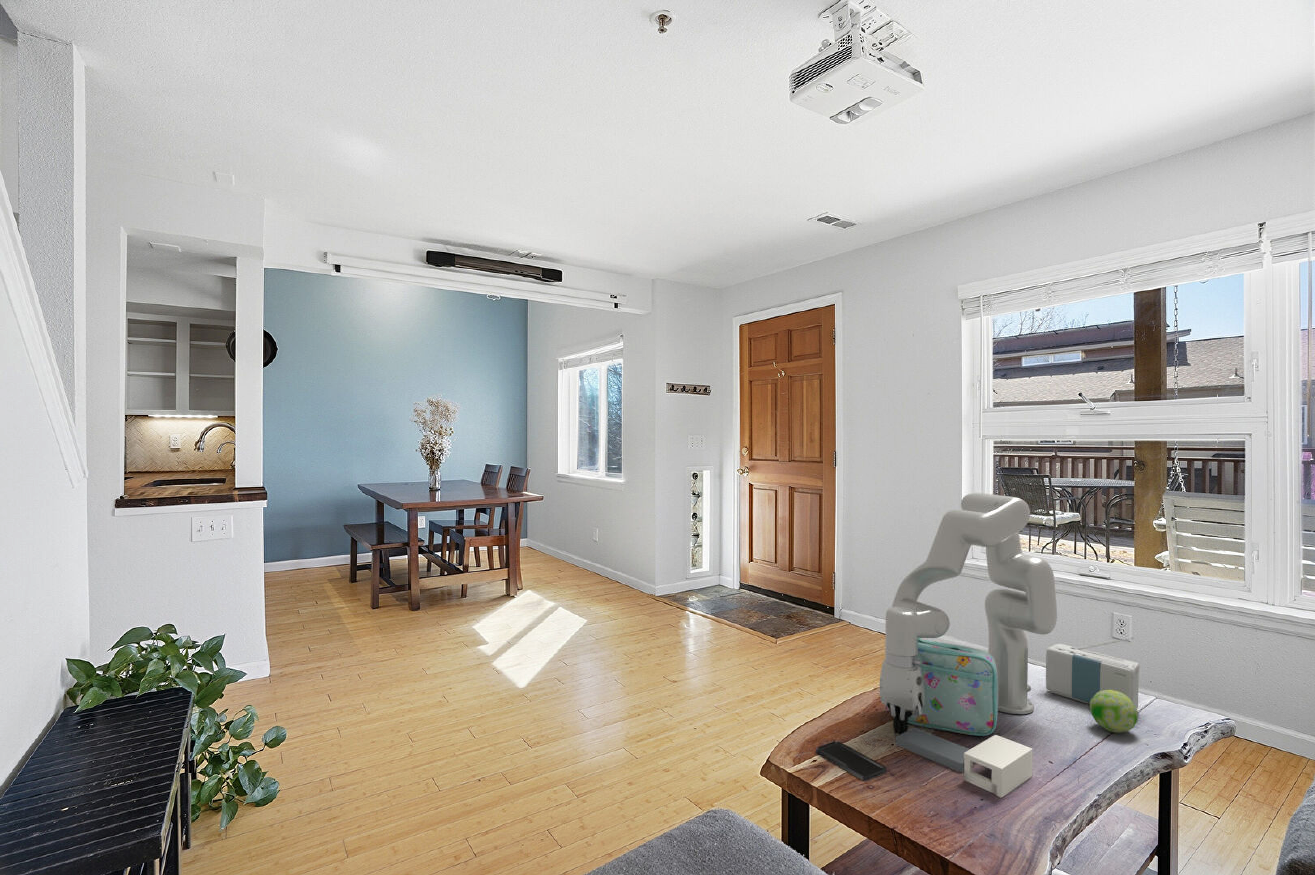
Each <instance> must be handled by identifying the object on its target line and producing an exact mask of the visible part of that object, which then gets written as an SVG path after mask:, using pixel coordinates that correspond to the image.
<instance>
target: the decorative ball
mask: <svg viewBox="0 0 1315 875" xmlns="http://www.w3.org/2000/svg"><path fill="white" fill-rule="evenodd" d="M1089 709H1090V714H1091V716H1092V718H1093V719H1094V722H1096V724H1097V725H1099V726H1100V727H1102V728H1103V729H1105V730H1106V731H1109V732H1112V733H1117V734H1119V733H1126V732H1129V731H1131V730H1133V729H1134V727H1136V724H1137V721H1138V717H1139V716H1138V715H1139V711H1138V708H1136V707H1135V705H1134V703H1133V702H1132V700H1130V698H1129V697H1127V696H1126V695H1125V694H1123V693H1121V692H1118V691H1114V690H1102V691H1100V692H1098V693H1096V694H1095V696H1094V697H1093V698H1092V699H1091V701H1090V704H1089Z"/></svg>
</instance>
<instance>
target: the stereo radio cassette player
mask: <svg viewBox="0 0 1315 875" xmlns="http://www.w3.org/2000/svg"><path fill="white" fill-rule="evenodd" d="M1134 638H1135V637H1134V636H1133V637H1132V636H1131V637H1130V638H1125V639H1124V638H1123V639H1119V640H1113V641H1106V642H1102V643H1097V644H1091V645H1087V646H1081V647H1075V646H1071V645H1068V644H1064V643H1057V644H1053V645H1052V646H1049V647H1047V648H1046V652H1045V653H1046V655H1045V688H1046V690H1047V691H1049V693H1051V694H1053V695H1054V694H1055V695H1058V696H1062V697H1064V698H1065V697H1066V698H1069V699H1072V700H1074V701H1078V702H1081V703H1084V704H1087V705H1090V701H1091V699H1092V698H1093V697H1094V696H1095V694H1096V693H1098V692H1100V691H1102V690H1114V691H1118V692H1121V693H1123V694H1125V695H1126V696H1127V697H1129V698H1130V700H1132V702H1133V703H1134V705H1135V707H1136V708H1137V709H1138V708H1139V679H1140V678H1139V673H1140V672H1139V671H1140V663H1139V662H1136V661H1131V660H1128V659H1124V658H1119V657H1116V656H1111V655H1108V654H1104V653H1100V652H1096V651H1091V650H1088V649H1089V648H1094V647H1099V646H1105V645H1109V644H1114V643H1118V642H1123V641H1127V640H1134Z"/></svg>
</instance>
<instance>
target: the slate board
mask: <svg viewBox="0 0 1315 875" xmlns="http://www.w3.org/2000/svg"><path fill="white" fill-rule="evenodd" d="M895 745H896V746H898V747H899V748H903V749H905V750H907V751H910V752H912V753H914V754H917V755H919V756H921V757H924V758H926V759H928V760H930V761H933V762H935V763H938V764H940V765H942V766H944V767H947V768H949V769H951V770H954V771H956V772H958V773H961V774H964V761H965V758H964V753H965V752H967V751H968V750H970V749H971V748H969V747H966V746H963V745H960V744H957V743H955V742H952V741H950V740H947V739H945V738H942V737H940V736H937V735H935V734H932V733H929V732H926V731H924V730H922V729H919V728H916V727H912V728H910V729H908V731H906V732H904V733H902V734H901V735H897V736H895ZM976 764H977V763H975V762H973V766H975V765H976Z"/></svg>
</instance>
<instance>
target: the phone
mask: <svg viewBox="0 0 1315 875" xmlns="http://www.w3.org/2000/svg"><path fill="white" fill-rule="evenodd" d="M815 753H816V754H818V755H819V756H820V757H822V758H823V759H825V760H827V761H829V762H830V763H832V764H834V765H835V766H838V767H839V768H840V769H842V770H844V771H846V772H847V773H849V774H850V775H853V776H854V777H856V778H858V779H859V780H861V781H864V782H866V781H870V780H873V779H876V778H879V776H883V775H885V774H887V772H888V771H887V767H886V766H884V765H883V764H881V763H880V762H877V761H876V760H874V759H873V758H870V757H869V756H866V755H865V754H863V753H861V752H859V751H858V750H856V749H854V748H852V747H851V746H848V745H847V744H845V743H843V742H841V741H837V740H835V741H832V742H829V743H826V744H823V745H820V746H818V747H816V749H815Z"/></svg>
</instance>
